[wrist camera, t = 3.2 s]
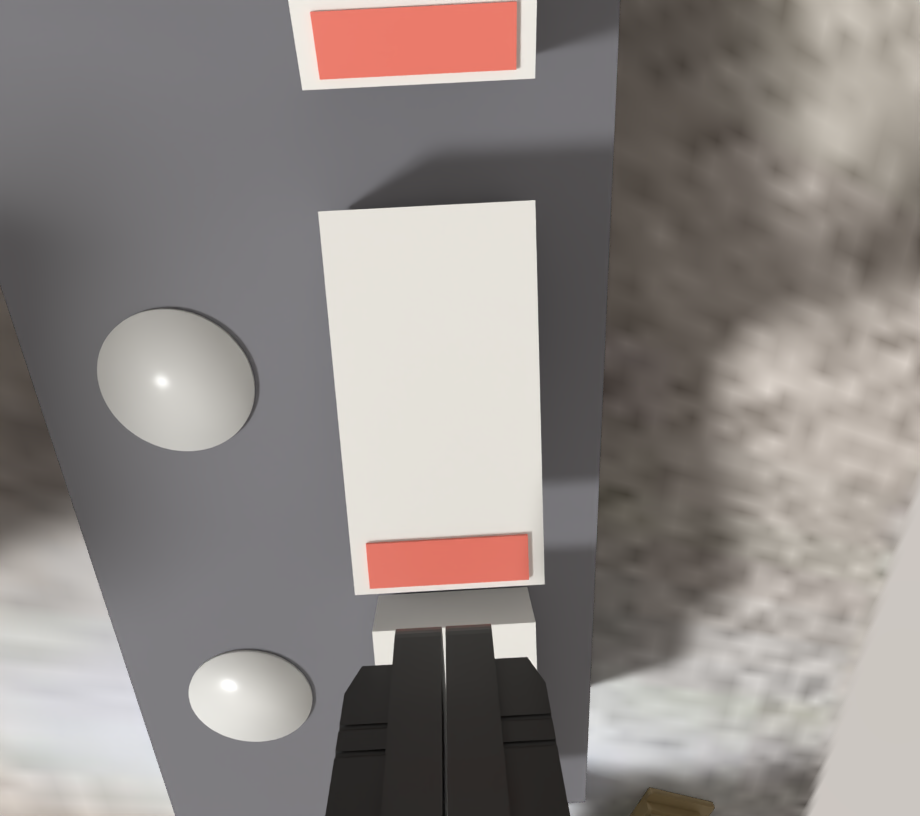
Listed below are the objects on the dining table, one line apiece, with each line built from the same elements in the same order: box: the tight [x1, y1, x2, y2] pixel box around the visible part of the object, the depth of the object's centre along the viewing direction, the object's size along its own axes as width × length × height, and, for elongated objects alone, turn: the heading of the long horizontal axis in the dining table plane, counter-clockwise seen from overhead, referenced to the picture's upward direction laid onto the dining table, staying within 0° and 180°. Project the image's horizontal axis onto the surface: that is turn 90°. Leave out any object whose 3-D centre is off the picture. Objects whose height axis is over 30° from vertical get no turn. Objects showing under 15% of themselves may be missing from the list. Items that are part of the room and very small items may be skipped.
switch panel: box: [0, 0, 620, 816], centre depth 14 cm, size 37×12×5 cm, turn 3°
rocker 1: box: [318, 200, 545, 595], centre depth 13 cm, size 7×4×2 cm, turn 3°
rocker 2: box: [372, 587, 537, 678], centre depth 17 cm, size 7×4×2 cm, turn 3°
